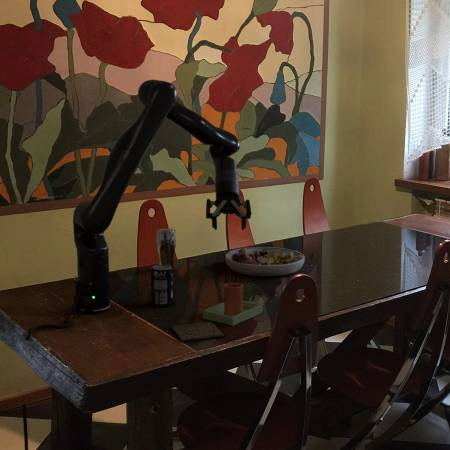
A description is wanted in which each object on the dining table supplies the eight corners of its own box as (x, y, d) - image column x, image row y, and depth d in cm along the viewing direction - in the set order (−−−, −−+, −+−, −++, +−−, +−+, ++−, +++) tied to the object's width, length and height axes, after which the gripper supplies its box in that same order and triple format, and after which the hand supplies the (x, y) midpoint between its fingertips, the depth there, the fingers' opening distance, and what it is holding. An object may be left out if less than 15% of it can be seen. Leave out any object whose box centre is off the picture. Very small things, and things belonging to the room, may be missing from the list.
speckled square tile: (171, 327, 206) (170, 324, 205) (211, 323, 210) (211, 320, 210) (181, 341, 195) (181, 338, 195) (224, 336, 200) (224, 333, 199)
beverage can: (164, 299, 232) (164, 263, 230) (176, 304, 228) (176, 267, 225) (147, 303, 228) (146, 266, 225) (159, 308, 223) (158, 270, 221)
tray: (232, 326, 209) (232, 317, 208) (202, 318, 215) (202, 310, 214) (262, 312, 222) (262, 304, 221) (233, 306, 227) (233, 298, 227)
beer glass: (179, 269, 269) (179, 230, 266) (167, 273, 264) (166, 233, 261) (166, 266, 273) (165, 227, 270) (153, 270, 267) (152, 230, 264)
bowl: (258, 255, 294) (258, 236, 293) (319, 267, 278) (320, 247, 276) (208, 269, 270) (208, 249, 269) (272, 283, 254) (272, 262, 252)
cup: (235, 318, 214) (235, 289, 213) (220, 314, 217) (220, 285, 216) (246, 313, 219) (246, 284, 217) (231, 309, 222) (231, 281, 220)
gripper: (205, 179, 229) (207, 221, 220) (250, 180, 232) (253, 222, 223) (204, 193, 235) (205, 235, 226) (247, 193, 238) (250, 235, 229)
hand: (229, 228), depth 225 cm, fingers open, 8 cm apart
